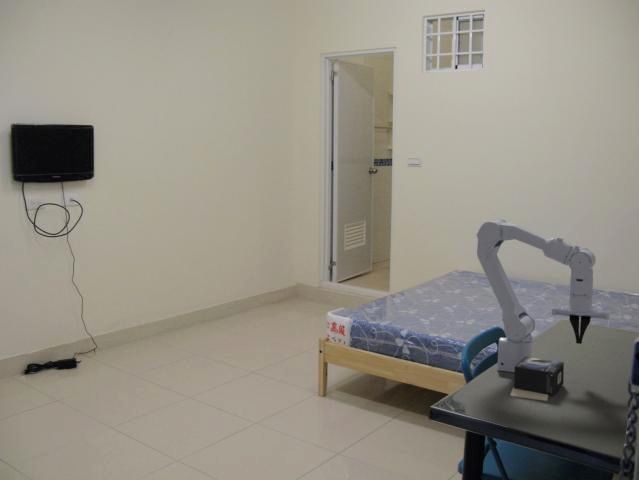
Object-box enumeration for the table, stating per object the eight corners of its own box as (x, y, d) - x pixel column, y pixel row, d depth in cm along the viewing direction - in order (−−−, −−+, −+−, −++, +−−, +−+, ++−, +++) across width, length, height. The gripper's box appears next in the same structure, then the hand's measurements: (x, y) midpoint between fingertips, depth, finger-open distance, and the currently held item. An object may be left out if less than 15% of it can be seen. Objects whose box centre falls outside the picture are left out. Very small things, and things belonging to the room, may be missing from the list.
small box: (554, 371, 163) (513, 365, 169) (554, 396, 164) (513, 389, 169) (564, 360, 172) (524, 355, 177) (563, 384, 172) (524, 378, 178)
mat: (510, 396, 165) (510, 394, 165) (516, 379, 178) (516, 378, 178) (547, 400, 161) (547, 399, 161) (551, 383, 174) (551, 382, 174)
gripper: (551, 294, 173) (549, 343, 175) (610, 298, 168) (608, 349, 169) (553, 289, 180) (551, 337, 181) (610, 293, 174) (607, 342, 176)
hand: (579, 342), depth 176 cm, fingers closed
